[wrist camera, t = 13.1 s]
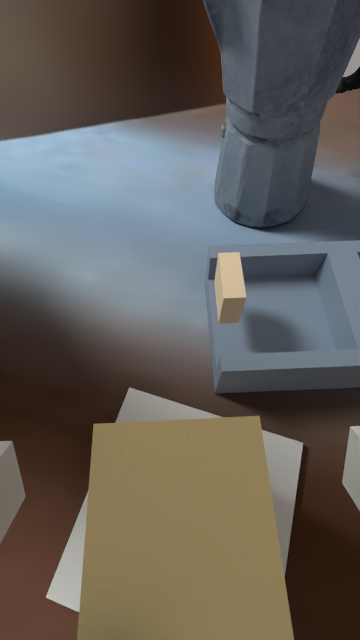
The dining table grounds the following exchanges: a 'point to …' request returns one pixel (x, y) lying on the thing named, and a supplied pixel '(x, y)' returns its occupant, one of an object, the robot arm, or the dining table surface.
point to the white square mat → (148, 407)
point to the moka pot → (277, 98)
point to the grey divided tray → (284, 316)
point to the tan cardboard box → (181, 534)
